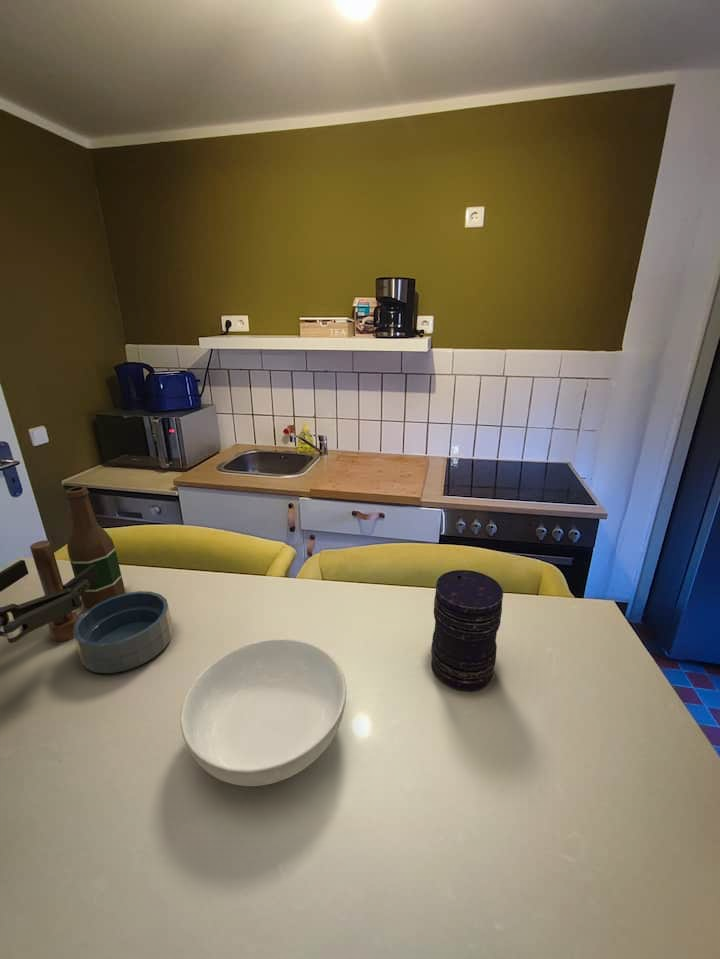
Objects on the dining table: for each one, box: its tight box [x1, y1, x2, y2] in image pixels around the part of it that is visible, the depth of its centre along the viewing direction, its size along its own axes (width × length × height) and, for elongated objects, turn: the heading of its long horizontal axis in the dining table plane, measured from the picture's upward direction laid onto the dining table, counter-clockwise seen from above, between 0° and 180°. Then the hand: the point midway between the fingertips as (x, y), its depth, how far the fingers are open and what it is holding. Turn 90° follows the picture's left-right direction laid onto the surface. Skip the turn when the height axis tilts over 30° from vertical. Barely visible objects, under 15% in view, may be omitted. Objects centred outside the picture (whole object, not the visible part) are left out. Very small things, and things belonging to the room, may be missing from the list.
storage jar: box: [430, 569, 504, 693], centre depth 65 cm, size 10×10×15 cm
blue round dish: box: [73, 590, 174, 674], centre depth 73 cm, size 14×14×6 cm
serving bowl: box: [180, 638, 347, 787], centre depth 57 cm, size 21×21×7 cm
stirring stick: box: [29, 539, 79, 643], centre depth 74 cm, size 4×4×18 cm
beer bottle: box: [64, 485, 126, 611], centre depth 82 cm, size 8×8×24 cm
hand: (59, 568), depth 75 cm, fingers open, 13 cm apart
